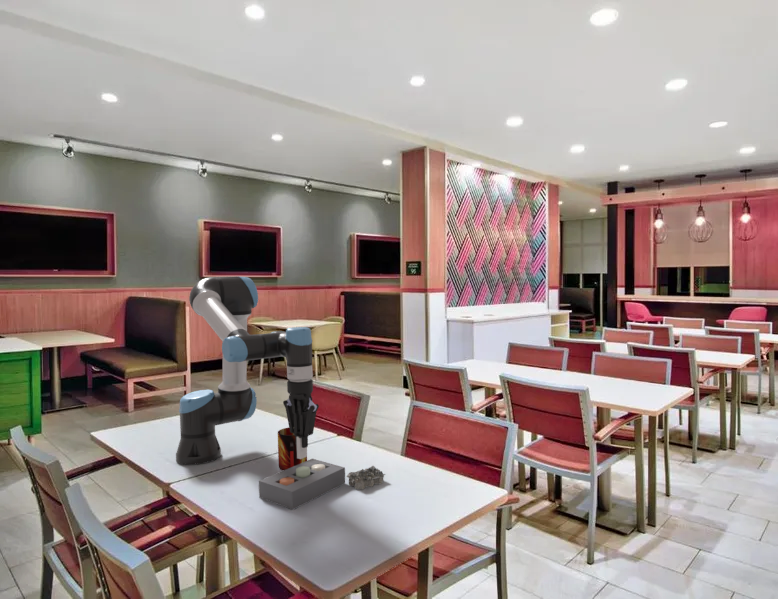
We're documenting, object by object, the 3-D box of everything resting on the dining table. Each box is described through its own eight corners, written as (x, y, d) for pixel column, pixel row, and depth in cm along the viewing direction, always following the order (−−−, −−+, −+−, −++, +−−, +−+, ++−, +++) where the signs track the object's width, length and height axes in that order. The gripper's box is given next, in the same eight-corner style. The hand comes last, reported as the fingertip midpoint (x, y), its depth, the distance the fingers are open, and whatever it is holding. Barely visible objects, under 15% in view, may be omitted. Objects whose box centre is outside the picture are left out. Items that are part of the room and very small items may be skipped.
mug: (291, 477, 168) (290, 440, 168) (273, 465, 179) (272, 430, 179) (318, 470, 174) (317, 434, 173) (299, 458, 185) (298, 425, 184)
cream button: (308, 477, 163) (308, 467, 162) (318, 473, 166) (318, 463, 166) (318, 480, 160) (318, 469, 160) (328, 475, 163) (327, 465, 163)
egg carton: (357, 492, 157) (356, 478, 156) (345, 484, 163) (344, 471, 163) (387, 483, 163) (386, 470, 162) (374, 475, 169) (374, 463, 169)
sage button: (293, 480, 157) (293, 469, 157) (303, 475, 161) (303, 465, 161) (303, 483, 155) (302, 472, 155) (313, 478, 158) (313, 468, 158)
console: (259, 497, 153) (258, 480, 153) (312, 473, 171) (312, 458, 171) (292, 509, 145) (292, 491, 145) (345, 483, 163) (344, 467, 162)
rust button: (276, 491, 152) (276, 480, 152) (287, 486, 156) (287, 476, 155) (286, 495, 150) (286, 484, 150) (297, 490, 153) (297, 479, 153)
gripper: (275, 379, 157) (277, 456, 158) (306, 384, 149) (308, 465, 150) (294, 375, 163) (296, 449, 164) (324, 379, 155) (326, 457, 156)
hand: (302, 457), depth 157 cm, fingers closed
